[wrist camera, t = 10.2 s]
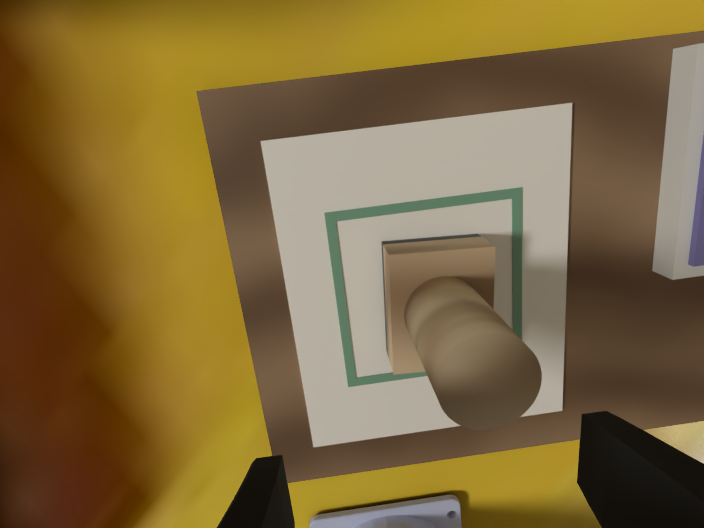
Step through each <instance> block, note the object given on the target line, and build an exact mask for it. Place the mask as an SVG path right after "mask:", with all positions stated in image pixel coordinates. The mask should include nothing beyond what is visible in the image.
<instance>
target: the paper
mask: <svg viewBox="0 0 704 528" xmlns="http://www.w3.org/2000/svg"><path fill="white" fill-rule="evenodd" d="M571 128H572V103H565V104H557V105H549V106H541V107H533V108H524V109H516V110H508V111H500V112H492V113H484V114H476V115H468V116H460V117H451V118H443V119H435V120H427V121H419V122H411V123H403V124H395V125H387V126H379V127H370V128H362V129H354V130H346V131H338V132H330V133H322V134H314V135H306V136H297V137H289V138H281V139H273V140H265V141H261V147H262V153H263V159H264V164H265V170H266V176H267V182H268V188H269V193H270V199H271V205H272V211H273V216H274V222H275V228H276V234H277V240H278V245H279V251H280V257H281V263H282V269H283V274H284V280H285V286H286V292H287V297H288V303H289V309H290V315H291V321H292V326H293V332H294V338H295V344H296V350H297V355H298V361H299V367H300V373H301V378H302V384H303V390H304V396H305V402H306V407H307V413H308V419H309V425H310V431H311V436H312V442H313V447H320V446H327V445H334V444H341V443H347V442H354V441H361V440H368V439H374V438H381V437H388V436H395V435H402V434H408V433H415V432H422V431H429V430H436V429H442V428H449V427H456V426H461V425H459V424H457V423H455V422H454V421H452V420H451V419H450V418H449V417H448V416H447V415H446V414H445V413H444V411H443V410H442V408H441V406H440V404H439V401H438V399H437V397H436V394H435V392H434V390H433V387H432V385H431V383H430V381H429V378H428V376H427V374H426V372H416V373H406V374H395V375H393V371H392V368H391V365H390V361H389V358H388V355H387V351H386V333H385V311H384V289H383V266H382V244H381V241H392V240H404V239H416V238H429V237H441V236H454V235H466V234H479V235H480V236H482V237H483V238H484V239H486V240H487V241H489V242H490V243H492V244H493V245H494V246H496V252H495V280H494V308H493V310H494V311H495V312H496V313H497V314H498V315H499V316H500V317H501V318H502V319H503V320H504V321H505V323H506V324H507V325H508V326H509V327H510V328H511V329H512V330H513V331H514V332H515V333H516V334H517V335H518V337H519V338H520V339H521V340H522V341H523V342H524V343H525V344H526V345H527V346H528V347H529V348H530V349H531V350H532V352H533V353H534V354H535V356H536V357H537V359H538V361H539V364H540V367H541V372H542V381H541V387H540V390H539V393H538V395H537V398H536V399H535V401H534V403H533V404H532V405H531V407H530V408H529V409H528V410H527V411H526V412H525V413H524V414H523V415H522V416H521V417H524V416H530V415H537V414H544V413H551V412H558V411H562V406H563V376H564V345H565V314H566V283H567V252H568V221H569V190H570V159H571Z"/></svg>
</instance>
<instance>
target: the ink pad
mask: <svg viewBox="0 0 704 528" xmlns="http://www.w3.org/2000/svg"><path fill="white" fill-rule="evenodd" d="M652 271H654V272H656V273H658V274H660V275H663V276H665V277H667V278H669V279H672V280H676V279H683V278H690V277H697V276H704V43H700V44H695V45H690V46H685V47H680V48H675V49H673V55H672V66H671V77H670V87H669V98H668V109H667V119H666V130H665V140H664V151H663V162H662V172H661V183H660V194H659V204H658V215H657V225H656V236H655V247H654V257H653V268H652Z"/></svg>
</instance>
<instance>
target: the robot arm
mask: <svg viewBox="0 0 704 528" xmlns="http://www.w3.org/2000/svg"><path fill="white" fill-rule="evenodd" d="M577 483H578V485H579V487H580V489H581V490H582V492H583V494H584V496H585V498H586V500H587V502H588V504H589V506H590V507H591V509H592V511H593V513H594V514H595V516H596V518H597V520H598V522H599V523H600V525H601V527H602V528H704V464H703V463H701V462H699V461H697V460H695V459H694V458H692V457H690V456H688V455H686V454H685V453H683V452H681V451H679V450H677V449H676V448H674V447H672V446H670V445H668V444H667V443H665V442H663V441H661V440H659V439H658V438H656V437H654V436H652V435H651V434H649V433H647V432H645V431H643V430H642V429H640V428H638V427H636V426H634V425H633V424H631V423H629V422H627V421H625V420H624V419H622V418H620V417H618V416H616V415H614V414H612V413H610V412H608V411H601V412H593V413H586V414H582V418H581V433H580V448H579V463H578V478H577ZM450 511H453V512H450ZM449 512H450V513H449ZM217 528H295V522H294V517H293V511H292V506H291V500H290V495H289V489H288V484H287V478H286V473H285V467H284V462H283V457H282V455H277V456H270V457H262V458H256V459H255V460H254V462H253V463H252V464H251V466H250V468H249V471H248V473H247V474H246V476H245V478H244V480H243V482H242V484H241V486H240V488H239V490H238V492H237V494H236V495H235V497H234V499H233V501H232V503H231V504H230V506H229V508H228V510H227V511H226V513H225V515H224V517H223V518H222V520H221V522H220V523H219V525H218V527H217ZM309 528H462V523H461V505H460V502H459V499H458V498H457V497H456V496H455V495H444V496H437V497H431V498H424V499H417V500H411V501H404V502H398V503H391V504H385V505H378V506H372V507H365V508H359V509H352V510H345V511H339V512H332V513H326V514H319V515H315V516H313V517H312V518H311V519H310V524H309Z"/></svg>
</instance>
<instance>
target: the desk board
mask: <svg viewBox="0 0 704 528" xmlns="http://www.w3.org/2000/svg"><path fill="white" fill-rule="evenodd" d="M700 43H704V31H699V32H690V33H682V34H673V35H665V36H657V37H648V38H640V39H631V40H623V41H615V42H606V43H598V44H589V45H581V46H573V47H564V48H556V49H547V50H539V51H531V52H522V53H514V54H505V55H497V56H489V57H480V58H472V59H463V60H455V61H446V62H438V63H430V64H421V65H413V66H404V67H396V68H388V69H379V70H371V71H362V72H354V73H346V74H337V75H329V76H320V77H312V78H304V79H295V80H287V81H278V82H270V83H262V84H253V85H245V86H236V87H228V88H220V89H211V90H203V91H197V96H198V101H199V106H200V110H201V115H202V120H203V125H204V130H205V134H206V139H207V144H208V149H209V154H210V158H211V163H212V168H213V173H214V178H215V182H216V187H217V192H218V197H219V202H220V206H221V211H222V216H223V221H224V226H225V230H226V235H227V240H228V245H229V250H230V254H231V259H232V264H233V269H234V274H235V278H236V283H237V288H238V293H239V298H240V302H241V307H242V312H243V317H244V322H245V326H246V331H247V336H248V341H249V346H250V350H251V355H252V360H253V365H254V370H255V374H256V379H257V384H258V389H259V394H260V398H261V403H262V408H263V413H264V418H265V422H266V427H267V432H268V437H269V442H270V446H271V451H272V456H277V455H282V457H283V462H284V467H285V473H286V478H287V483H291V482H298V481H305V480H311V479H318V478H325V477H331V476H338V475H345V474H351V473H358V472H365V471H371V470H378V469H385V468H391V467H398V466H405V465H411V464H418V463H425V462H431V461H438V460H445V459H451V458H458V457H465V456H471V455H478V454H485V453H491V452H498V451H505V450H512V449H518V448H525V447H532V446H538V445H545V444H552V443H558V442H565V441H572V440H578V439H580V433H581V418H582V414H586V413H593V412H601V411H608V412H610V413H612V414H614V415H616V416H618V417H620V418H622V419H624V420H625V421H627V422H629V423H631V424H633V425H634V426H636V427H638V428H640V429H642V430H645V429H652V428H658V427H665V426H672V425H678V424H685V423H692V422H698V421H704V276H697V277H690V278H683V279H676V280H672V279H669V278H667V277H665V276H663V275H660V274H658V273H656V272H654V271H652V268H653V257H654V247H655V236H656V225H657V215H658V204H659V194H660V183H661V172H662V162H663V151H664V140H665V130H666V119H667V109H668V98H669V87H670V77H671V66H672V55H673V49H675V48H680V47H685V46H690V45H695V44H700ZM565 103H572V128H571V159H570V190H569V221H568V252H567V283H566V314H565V345H564V376H563V406H562V411H558V412H551V413H544V414H537V415H530V416H524V417H519V418H518V419H516V420H515V421H513V422H511V423H509V424H507V425H505V426H502V427H499V428H495V429H489V430H475V429H469V428H466V427H463V426H456V427H449V428H442V429H436V430H429V431H422V432H415V433H408V434H402V435H395V436H388V437H381V438H374V439H368V440H361V441H354V442H347V443H341V444H334V445H327V446H320V447H313V442H312V436H311V431H310V425H309V419H308V413H307V407H306V402H305V396H304V390H303V384H302V378H301V373H300V367H299V361H298V355H297V350H296V344H295V338H294V332H293V326H292V321H291V315H290V309H289V303H288V297H287V292H286V286H285V280H284V274H283V269H282V263H281V257H280V251H279V245H278V240H277V234H276V228H275V222H274V216H273V211H272V205H271V199H270V193H269V188H268V182H267V176H266V170H265V164H264V159H263V153H262V147H261V141H265V140H273V139H281V138H289V137H297V136H306V135H314V134H322V133H330V132H338V131H346V130H354V129H362V128H370V127H379V126H387V125H395V124H403V123H411V122H419V121H427V120H435V119H443V118H451V117H460V116H468V115H476V114H484V113H492V112H500V111H508V110H516V109H524V108H533V107H541V106H549V105H557V104H565Z"/></svg>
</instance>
